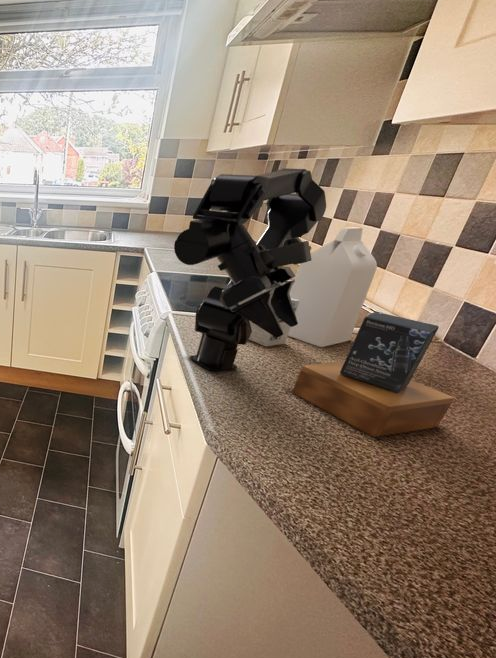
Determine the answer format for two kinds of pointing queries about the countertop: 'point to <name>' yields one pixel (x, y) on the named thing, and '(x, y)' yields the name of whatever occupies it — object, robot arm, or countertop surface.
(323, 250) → the milk
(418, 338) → the box
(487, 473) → the countertop surface
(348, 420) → the wooden plinth
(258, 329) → the light bulb box
